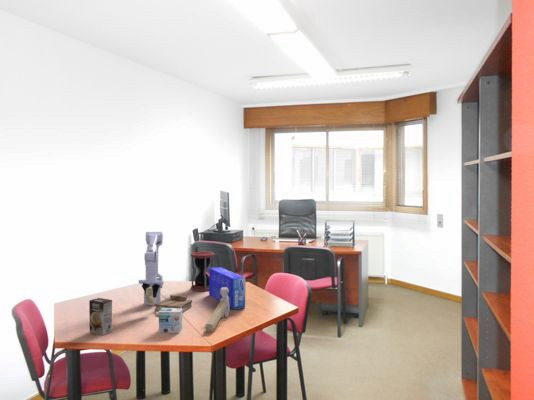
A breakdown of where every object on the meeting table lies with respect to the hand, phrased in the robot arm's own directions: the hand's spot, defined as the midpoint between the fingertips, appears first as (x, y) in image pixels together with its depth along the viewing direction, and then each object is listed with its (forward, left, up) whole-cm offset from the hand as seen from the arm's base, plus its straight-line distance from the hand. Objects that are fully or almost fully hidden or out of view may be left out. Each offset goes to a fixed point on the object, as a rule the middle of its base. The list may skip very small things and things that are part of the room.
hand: (151, 297), depth 247 cm
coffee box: (-8, -33, -10) cm, 35 cm away
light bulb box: (+24, -21, -10) cm, 33 cm away
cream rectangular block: (0, 0, -3) cm, 3 cm away
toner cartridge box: (+30, +38, -10) cm, 50 cm away
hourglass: (+2, +63, -10) cm, 64 cm away
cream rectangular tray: (+7, +10, -10) cm, 16 cm away
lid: (+7, +13, -7) cm, 16 cm away
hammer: (+42, -3, -10) cm, 43 cm away
